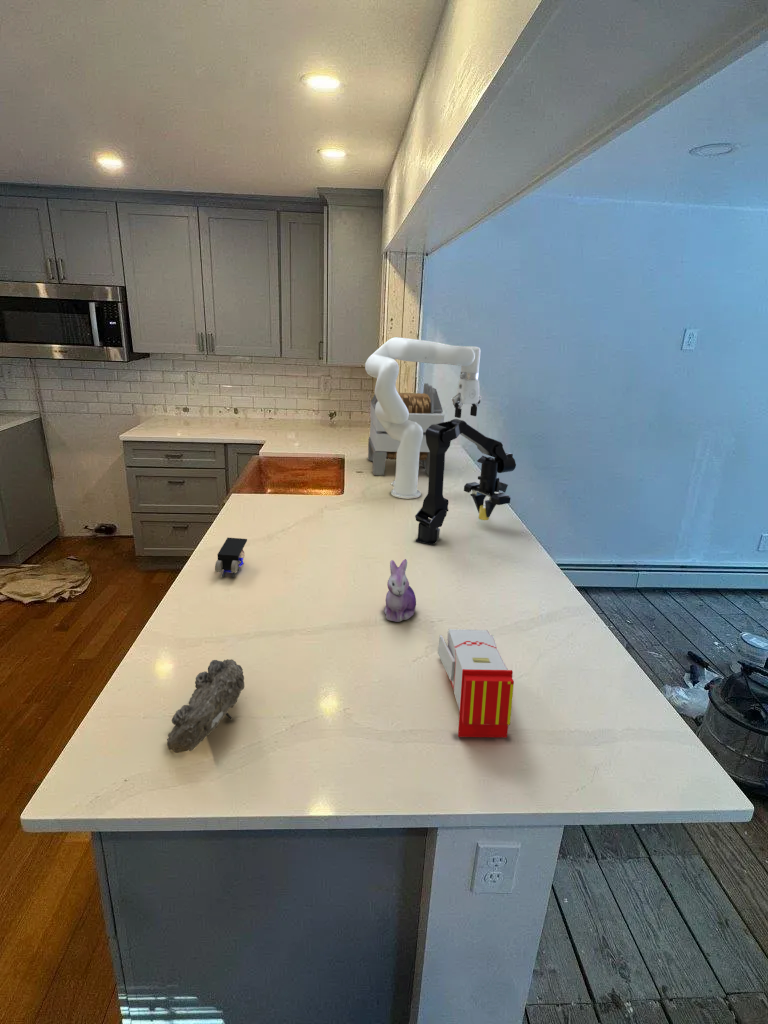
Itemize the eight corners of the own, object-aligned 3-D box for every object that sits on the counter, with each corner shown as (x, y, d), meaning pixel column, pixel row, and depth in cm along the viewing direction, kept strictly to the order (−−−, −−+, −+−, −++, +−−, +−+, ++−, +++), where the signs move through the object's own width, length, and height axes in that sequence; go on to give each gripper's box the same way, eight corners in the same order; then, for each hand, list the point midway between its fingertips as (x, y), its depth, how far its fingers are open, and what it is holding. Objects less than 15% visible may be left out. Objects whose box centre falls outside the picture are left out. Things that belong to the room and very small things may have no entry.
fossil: (192, 660, 117) (244, 628, 112) (224, 691, 120) (276, 661, 115) (142, 746, 98) (202, 712, 93) (182, 779, 101) (242, 748, 96)
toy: (488, 613, 130) (523, 677, 101) (484, 667, 133) (517, 744, 104) (435, 612, 130) (455, 676, 101) (432, 666, 133) (451, 743, 103)
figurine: (392, 627, 141) (395, 572, 136) (374, 608, 149) (376, 556, 144) (425, 619, 145) (429, 566, 140) (405, 601, 154) (408, 550, 149)
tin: (476, 518, 207) (478, 506, 205) (481, 516, 210) (482, 504, 208) (486, 521, 205) (487, 508, 203) (490, 518, 208) (491, 506, 206)
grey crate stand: (367, 457, 298) (369, 379, 284) (428, 458, 302) (433, 380, 288) (373, 475, 266) (376, 388, 253) (441, 476, 270) (448, 390, 256)
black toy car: (238, 584, 162) (249, 557, 175) (236, 562, 158) (247, 536, 172) (215, 584, 161) (227, 556, 175) (212, 561, 158) (225, 535, 171)
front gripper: (524, 478, 199) (518, 520, 204) (487, 465, 213) (482, 504, 219) (501, 482, 193) (496, 525, 198) (464, 468, 207) (460, 509, 213)
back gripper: (461, 378, 233) (457, 419, 239) (489, 376, 244) (485, 416, 249) (448, 376, 239) (445, 416, 245) (476, 374, 249) (472, 413, 255)
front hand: (484, 515), depth 207 cm, fingers closed on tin, 4 cm apart
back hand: (465, 416), depth 247 cm, fingers open, 9 cm apart
